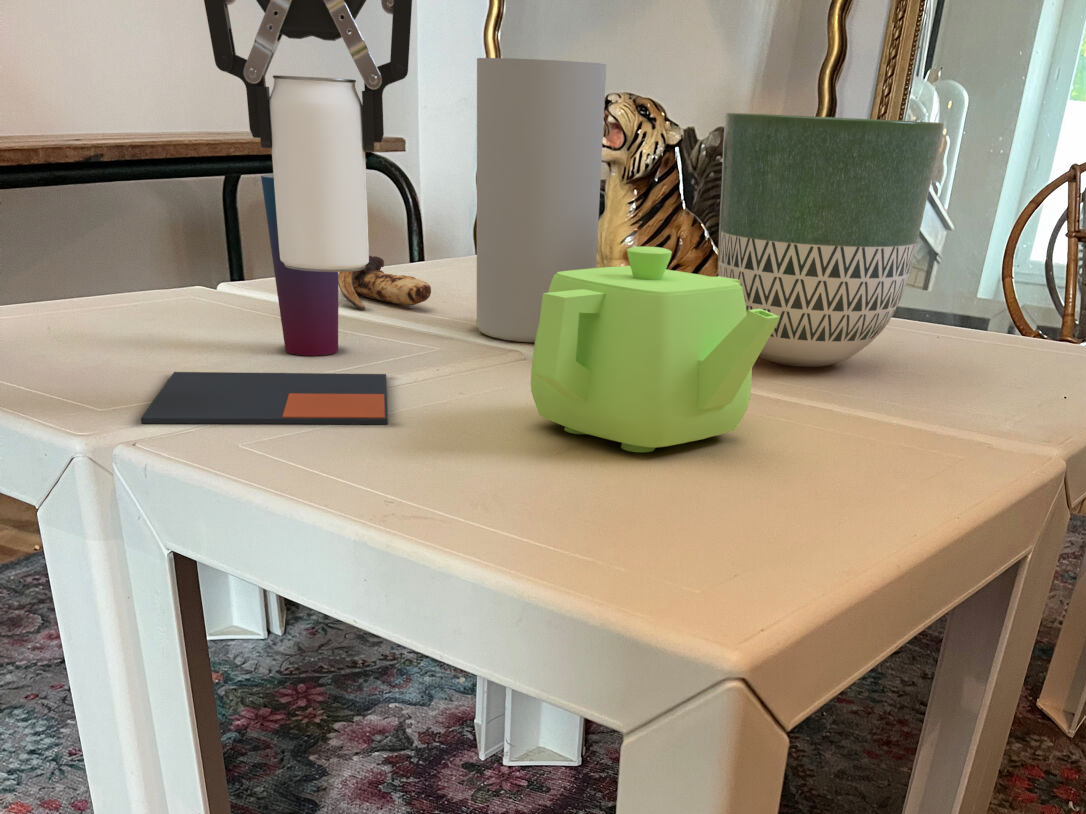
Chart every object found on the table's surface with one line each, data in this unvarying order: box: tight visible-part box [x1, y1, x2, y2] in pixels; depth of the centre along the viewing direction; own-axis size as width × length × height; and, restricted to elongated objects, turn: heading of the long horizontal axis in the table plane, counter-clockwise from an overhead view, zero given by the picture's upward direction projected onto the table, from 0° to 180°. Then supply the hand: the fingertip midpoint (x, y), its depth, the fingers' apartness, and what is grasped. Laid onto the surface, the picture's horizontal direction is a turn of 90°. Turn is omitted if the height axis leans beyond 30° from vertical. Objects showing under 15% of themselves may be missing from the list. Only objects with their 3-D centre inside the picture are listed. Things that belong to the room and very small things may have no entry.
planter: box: [717, 112, 945, 368], centre depth 107 cm, size 20×20×21 cm
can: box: [269, 74, 370, 273], centre depth 80 cm, size 6×6×12 cm
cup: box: [260, 173, 339, 357], centre depth 104 cm, size 7×7×15 cm
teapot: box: [530, 246, 780, 453], centre depth 81 cm, size 18×20×13 cm
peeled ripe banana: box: [338, 255, 432, 311], centre depth 133 cm, size 9×5×18 cm
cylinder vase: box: [476, 57, 607, 344], centre depth 115 cm, size 12×12×25 cm
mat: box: [140, 371, 389, 425], centre depth 91 cm, size 18×16×1 cm
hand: (318, 148), depth 79 cm, fingers closed on can, 6 cm apart
